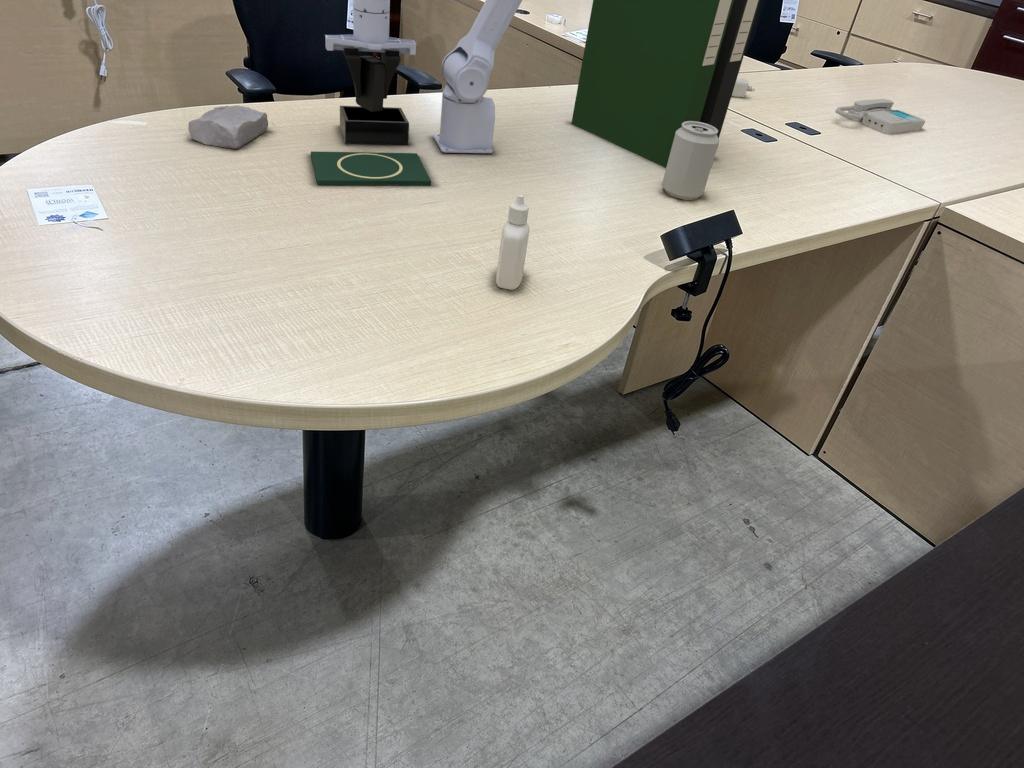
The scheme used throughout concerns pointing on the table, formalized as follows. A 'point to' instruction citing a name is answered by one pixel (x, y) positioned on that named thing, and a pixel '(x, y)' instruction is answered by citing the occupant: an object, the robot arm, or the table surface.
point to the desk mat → (368, 168)
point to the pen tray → (374, 126)
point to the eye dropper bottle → (513, 246)
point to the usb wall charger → (741, 88)
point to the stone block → (228, 126)
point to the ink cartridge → (371, 84)
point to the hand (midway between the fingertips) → (370, 96)
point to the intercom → (881, 116)
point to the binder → (659, 69)
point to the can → (690, 160)
